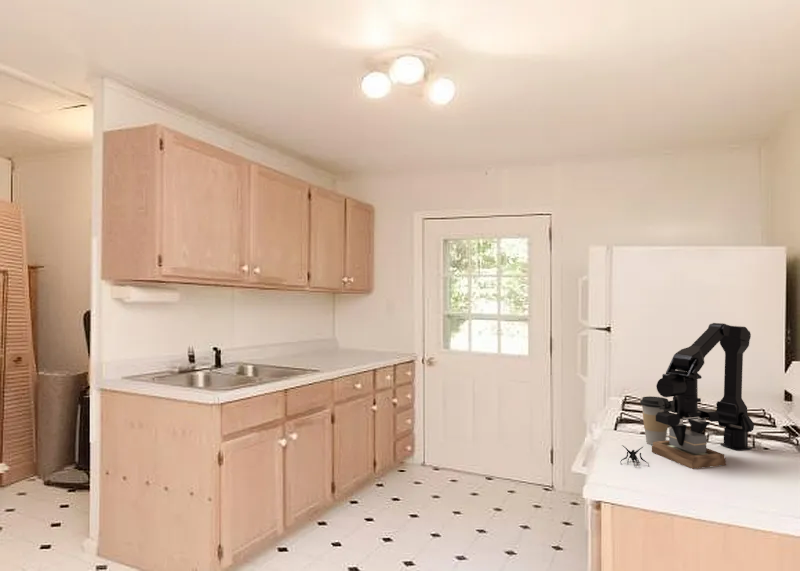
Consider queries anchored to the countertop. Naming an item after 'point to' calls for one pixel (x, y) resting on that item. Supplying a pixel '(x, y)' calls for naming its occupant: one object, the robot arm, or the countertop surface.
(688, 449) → the glasses case
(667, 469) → the countertop surface
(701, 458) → the wooden picture frame
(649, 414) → the coffee cup
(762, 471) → the countertop surface
